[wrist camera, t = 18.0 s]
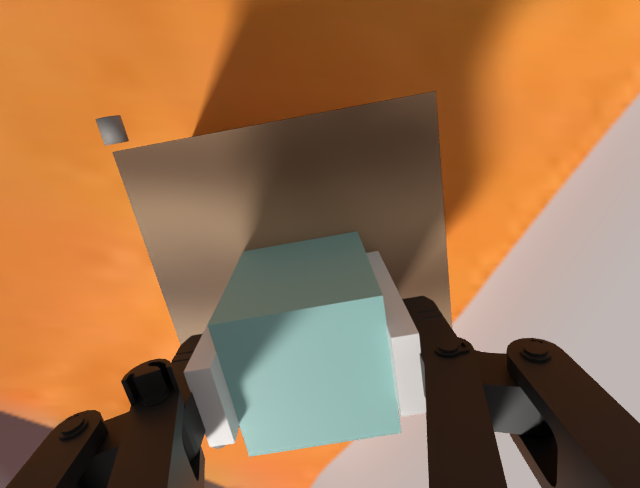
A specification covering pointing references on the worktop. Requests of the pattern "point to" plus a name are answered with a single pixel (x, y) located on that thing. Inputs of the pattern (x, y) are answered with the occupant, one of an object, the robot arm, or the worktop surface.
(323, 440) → the block
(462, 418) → the robot arm
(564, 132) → the worktop surface
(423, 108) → the lid
